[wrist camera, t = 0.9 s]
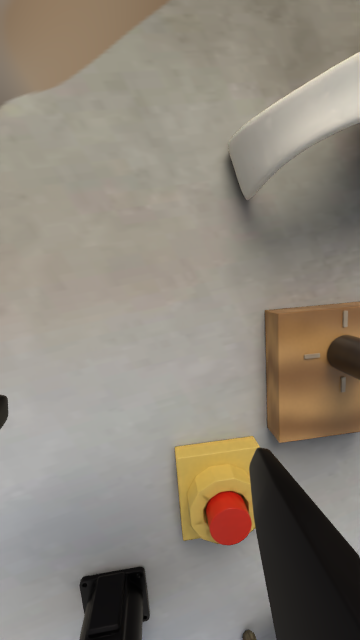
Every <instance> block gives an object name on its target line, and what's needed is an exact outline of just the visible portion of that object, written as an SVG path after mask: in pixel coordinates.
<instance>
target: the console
mask: <svg viewBox="0 0 360 640" xmlns="http://www.w3.org/2000/svg"><path fill="white" fill-rule="evenodd" d="M265 331H266V378H267V426H268V429H269V430H270V431H271V432H272V434H273V435H274V436H275V438H276V439H277V440H278V441H279V443H283V442H290V441H297V440H304V439H311V438H318V437H325V436H332V435H339V434H347V433H354V432H360V380H358V379H356V378H354V377H352V376H350V375H348V374H346V373H344V372H341V371H339V370H337V369H335V368H334V367H332V366H331V364H330V363H329V361H328V357H327V353H328V348H329V346H330V344H331V343H332V342H333V341H334V340H335V339H336V338H338V337H340V336H342V335H351V336H355V337H359V338H360V302H351V303H340V304H329V305H318V306H307V307H296V308H285V309H274V310H265Z"/></svg>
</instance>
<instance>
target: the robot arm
mask: <svg viewBox="0 0 360 640" xmlns="http://www.w3.org/2000/svg"><path fill="white" fill-rule="evenodd" d="M7 417H8V399H7V397H6V396H4V395H0V429H1V428H2V426H3V425H4V423H5V422H6V420H7ZM249 473H250V483H251V494H252V505H253V515H254V522H255V528H256V533H257V538H258V544H259V549H260V554H261V560H262V565H263V570H264V575H265V581H266V586H267V591H268V597H269V602H270V607H271V613H272V618H273V623H274V629H275V634H276V639H277V640H360V558H359V555H358V554H357V553H356V552H355V550H354V549H353V548H352V547H351V546H350V544H349V543H348V542H347V541H346V540H345V539H344V537H343V536H342V535H341V534H340V533H339V531H338V530H337V529H336V528H335V527H334V526H333V524H332V523H331V522H330V521H329V520H328V518H327V517H326V516H325V515H324V514H323V513H322V511H321V510H320V509H319V508H318V507H317V505H316V504H315V503H314V502H313V501H312V500H311V498H310V497H309V496H308V495H307V494H306V492H305V491H304V490H303V489H302V488H301V487H300V485H299V484H298V483H297V482H296V481H295V479H294V478H293V477H292V476H291V475H290V474H289V472H288V471H287V470H286V469H285V468H284V466H283V465H282V464H281V463H280V462H279V461H278V459H277V458H276V457H275V456H274V455H273V454H272V452H271V451H270V450H268V449H264V448H257V449H256V451H255V453H254V455H253V457H252V460H251V462H250V466H249ZM80 591H81V596H82V602H83V608H84V614H85V615H84V620H83V625H82V630H81V634H80V639H79V640H142V622H144V621H147V620H149V617H150V611H149V602H148V594H147V586H146V577H145V570H144V568H143V567H136V568H130V569H125V570H119V571H113V572H108V573H102V574H96V575H91V576H85V577H83V578H82V579H81V582H80Z"/></svg>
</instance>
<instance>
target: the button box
mask: <svg viewBox="0 0 360 640" xmlns="http://www.w3.org/2000/svg"><path fill="white" fill-rule="evenodd" d="M257 448H260V446H259V445H258V443H257V442H256V440H255V439H254V437H253V436H250V437H243V438H236V439H228V440H221V441H214V442H206V443H199V444H192V445H184V446H177V447H175V457H176V469H177V480H178V492H179V503H180V514H181V525H182V535H183V541H186V540H192V539H197V538H202V539H204V540H207V541H210V542H213V543H217V544H220V543H218V542H216V541H215V540H214V539H213V538H212V536H211V534H210V530H209V525H208V520H207V516H206V506H207V504H208V502H209V500H210V499H211V498H212V497H214V496H215V495H216V494H218V493H219V492H225V491H233V492H235V493H237V494H239V495H240V496H241V497H242V498H243V500H244V503H245V505H246V507H247V510H248V512H249V515H250V517H251V521H252V527H251V530H250V532H251V531H253V529H256V528H255V522H254V515H253V505H252V494H251V483H250V473H249V466H250V462H251V460H252V457H253V455H254V453H255V451H256V449H257ZM250 532H249V533H250Z"/></svg>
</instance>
